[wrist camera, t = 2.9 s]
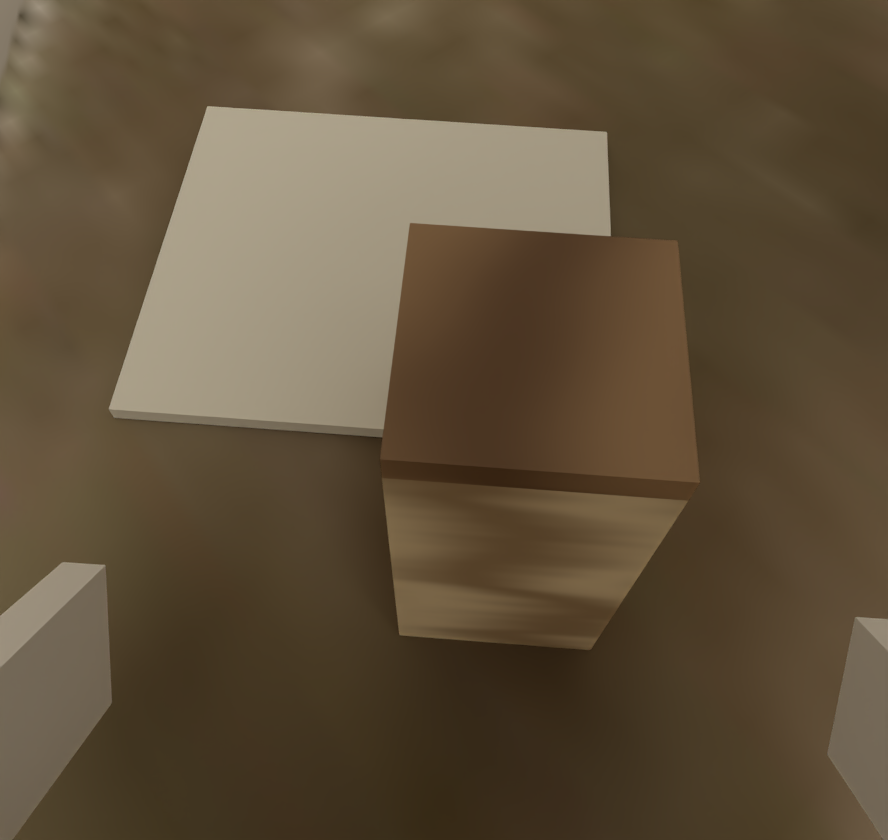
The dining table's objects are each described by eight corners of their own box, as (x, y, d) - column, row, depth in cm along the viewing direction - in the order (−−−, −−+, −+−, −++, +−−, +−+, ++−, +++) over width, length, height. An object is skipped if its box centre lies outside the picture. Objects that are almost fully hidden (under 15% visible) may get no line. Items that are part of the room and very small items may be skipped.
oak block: (587, 478, 29) (678, 240, 18) (590, 650, 26) (700, 482, 15) (416, 465, 29) (409, 222, 18) (399, 635, 26) (379, 459, 15)
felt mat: (604, 142, 37) (606, 132, 37) (615, 454, 29) (618, 446, 29) (210, 117, 38) (207, 106, 37) (114, 417, 30) (108, 409, 29)
